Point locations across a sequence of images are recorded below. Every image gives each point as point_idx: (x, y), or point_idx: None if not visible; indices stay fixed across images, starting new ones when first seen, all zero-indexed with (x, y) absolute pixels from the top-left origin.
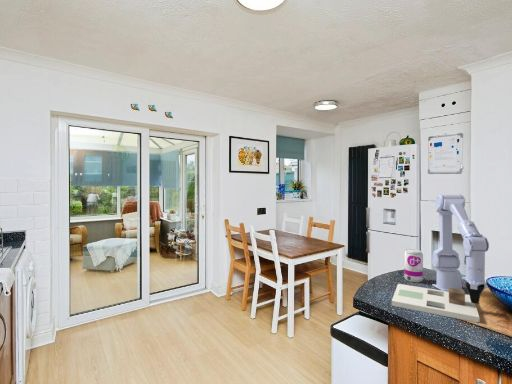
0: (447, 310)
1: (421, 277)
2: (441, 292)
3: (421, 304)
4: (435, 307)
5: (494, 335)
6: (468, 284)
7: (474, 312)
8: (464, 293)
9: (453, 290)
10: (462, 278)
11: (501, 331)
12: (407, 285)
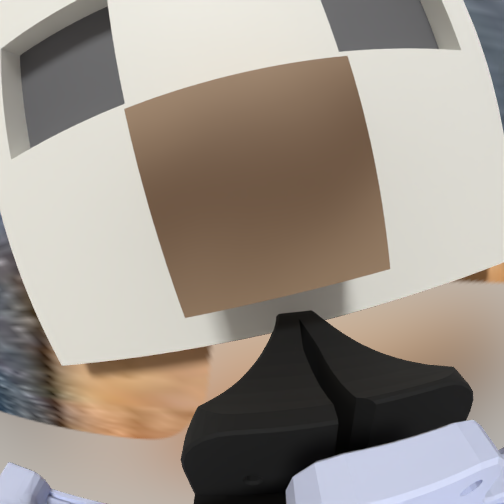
0: (5, 180)
1: None
2: (451, 35)
3: (7, 19)
4: (98, 61)
5: (20, 390)
6: (240, 467)
7: (111, 340)
8: (217, 307)
9: (244, 140)
10: (303, 492)
11: (78, 417)
12: None
